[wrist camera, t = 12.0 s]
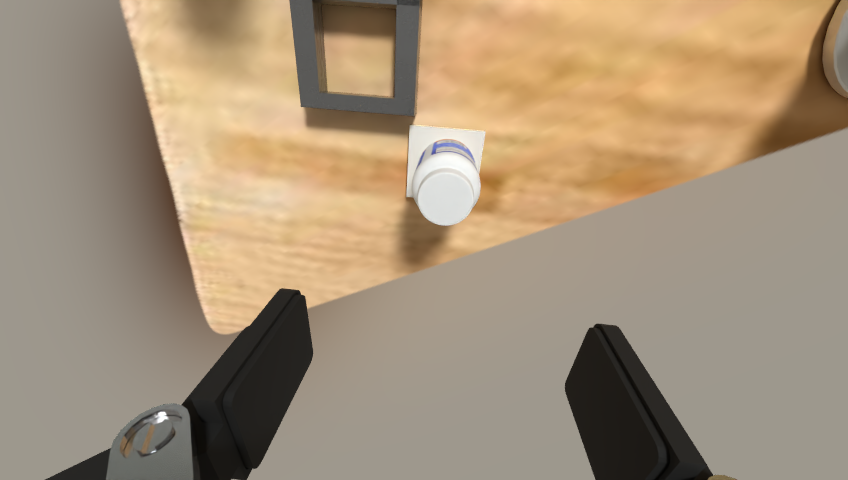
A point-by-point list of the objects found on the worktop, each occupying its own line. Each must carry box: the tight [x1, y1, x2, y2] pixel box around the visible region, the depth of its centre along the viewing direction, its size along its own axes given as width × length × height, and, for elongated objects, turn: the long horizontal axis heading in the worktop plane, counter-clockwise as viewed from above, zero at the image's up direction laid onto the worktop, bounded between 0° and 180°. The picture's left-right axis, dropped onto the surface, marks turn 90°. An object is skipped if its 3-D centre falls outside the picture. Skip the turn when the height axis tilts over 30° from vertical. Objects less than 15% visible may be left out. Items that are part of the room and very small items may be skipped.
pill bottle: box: [412, 139, 481, 226], centre depth 26 cm, size 5×5×10 cm
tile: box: [406, 124, 485, 198], centre depth 31 cm, size 7×7×1 cm
